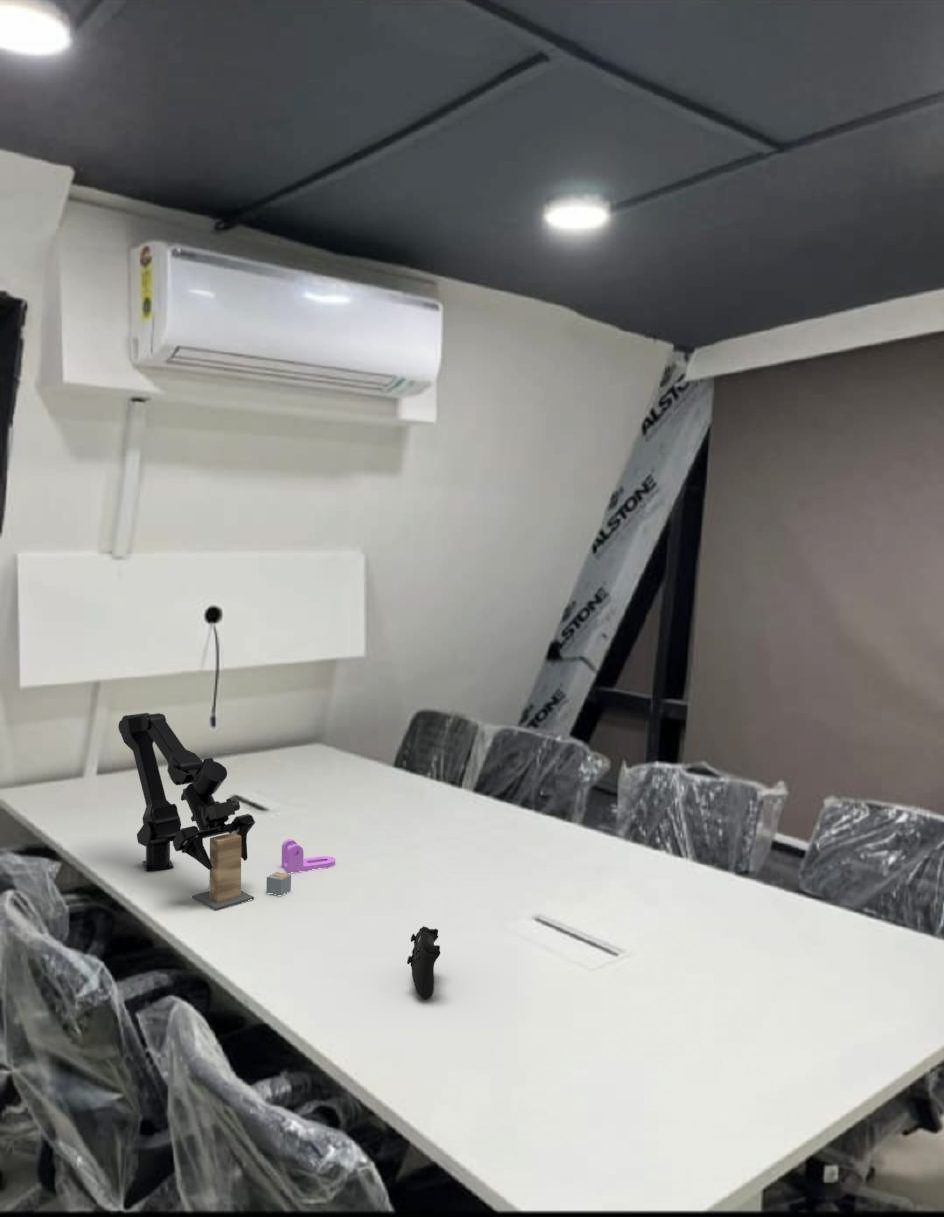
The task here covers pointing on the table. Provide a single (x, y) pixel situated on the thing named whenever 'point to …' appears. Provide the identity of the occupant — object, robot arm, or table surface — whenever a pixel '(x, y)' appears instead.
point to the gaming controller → (424, 960)
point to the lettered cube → (279, 883)
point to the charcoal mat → (216, 906)
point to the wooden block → (225, 867)
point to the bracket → (301, 858)
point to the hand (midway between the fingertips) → (228, 864)
